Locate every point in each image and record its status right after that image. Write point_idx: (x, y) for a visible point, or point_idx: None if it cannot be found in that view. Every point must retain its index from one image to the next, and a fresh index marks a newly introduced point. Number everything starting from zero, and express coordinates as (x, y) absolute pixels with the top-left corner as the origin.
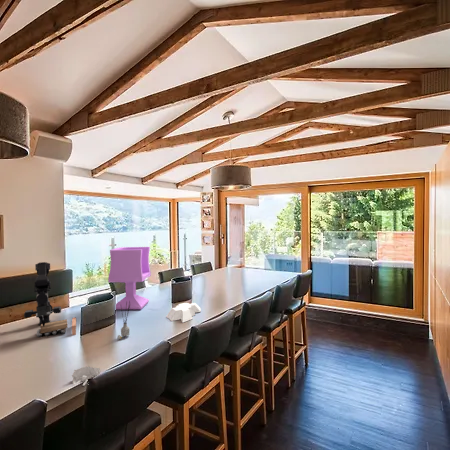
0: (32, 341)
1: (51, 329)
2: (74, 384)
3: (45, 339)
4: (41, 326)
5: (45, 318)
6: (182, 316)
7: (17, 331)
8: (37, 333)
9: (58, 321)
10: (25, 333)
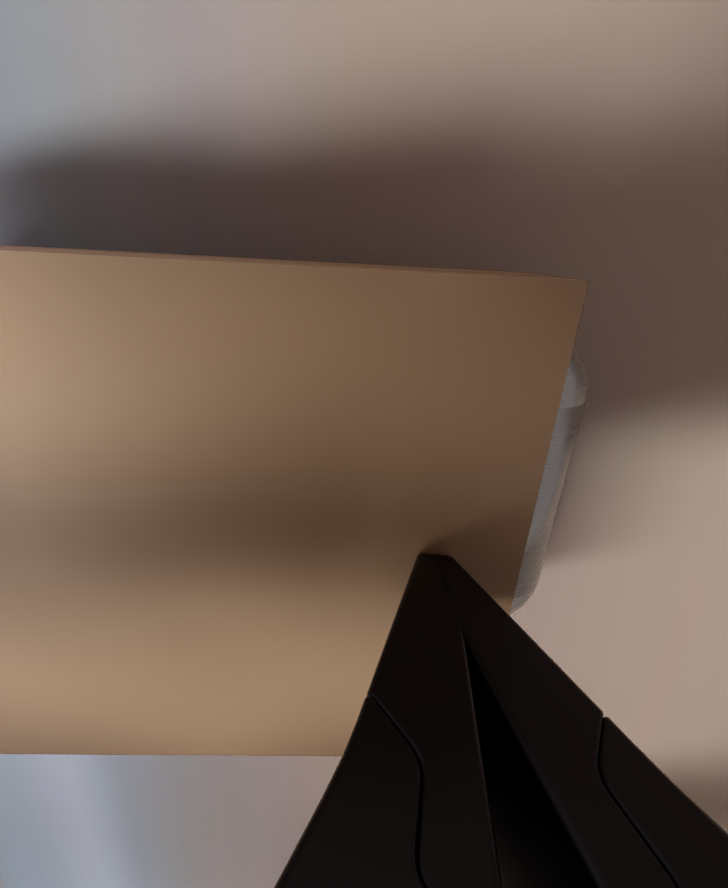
0: (713, 76)
1: (203, 257)
2: None
3: (405, 37)
4: (497, 573)
5: (381, 875)
6: None
7: (722, 794)
8: (582, 374)
9: (26, 705)
10: (664, 676)
